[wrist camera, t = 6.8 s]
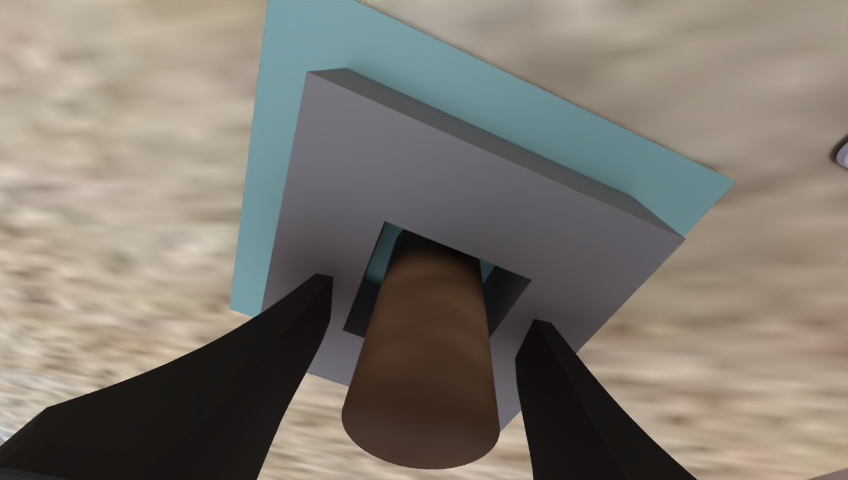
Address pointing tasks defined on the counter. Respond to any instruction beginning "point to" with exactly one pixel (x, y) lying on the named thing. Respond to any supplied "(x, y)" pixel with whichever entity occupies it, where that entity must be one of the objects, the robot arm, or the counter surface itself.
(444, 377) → the peg
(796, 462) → the counter surface
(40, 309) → the counter surface
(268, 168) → the socket board
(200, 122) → the counter surface
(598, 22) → the counter surface
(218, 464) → the robot arm
